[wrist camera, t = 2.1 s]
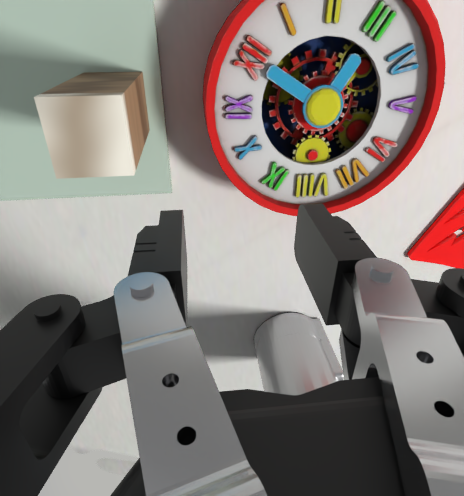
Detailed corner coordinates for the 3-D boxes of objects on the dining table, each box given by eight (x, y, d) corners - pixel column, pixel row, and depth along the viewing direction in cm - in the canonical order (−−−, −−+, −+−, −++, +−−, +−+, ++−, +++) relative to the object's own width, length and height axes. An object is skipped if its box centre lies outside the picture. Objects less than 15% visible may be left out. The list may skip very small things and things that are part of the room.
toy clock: (339, 247, 38) (163, 155, 30) (321, 220, 42) (166, 136, 35) (495, 61, 29) (303, -123, 22) (451, 55, 34) (282, -97, 27)
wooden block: (142, 71, 31) (121, 95, 21) (149, 129, 34) (134, 175, 24) (83, 72, 31) (33, 97, 21) (95, 131, 34) (56, 178, 24)
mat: (151, -21, 29) (150, -21, 28) (172, 191, 38) (171, 192, 38) (-122, -22, 27) (-127, -23, 26) (-28, 200, 36) (-31, 202, 36)
